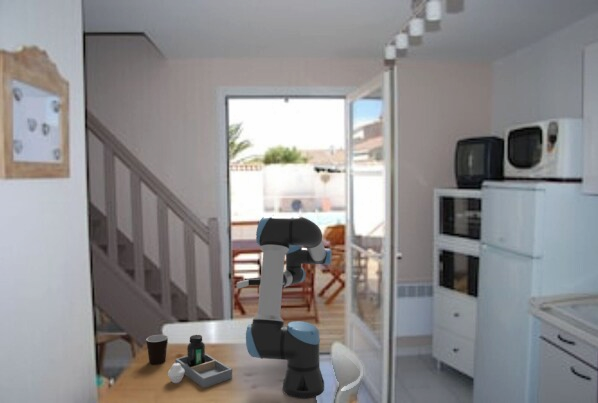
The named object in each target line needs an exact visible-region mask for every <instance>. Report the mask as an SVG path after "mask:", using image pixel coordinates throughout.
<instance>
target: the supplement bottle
mask: <svg viewBox="0 0 598 403" xmlns="http://www.w3.org/2000/svg"><path fill="white" fill-rule="evenodd" d="M205 347H206V346H205V343H204V342H203V336H202V335H201V334H194V335H191V336H189V343H188V344H187V354H186V356H187V359H188V366H189V367H193V366H196V365H200V364H203V363H205V353H206V350H205V349H206V348H205Z"/></svg>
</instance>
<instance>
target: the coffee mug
mask: <svg viewBox="0 0 598 403" xmlns="http://www.w3.org/2000/svg"><path fill="white" fill-rule="evenodd" d="M168 339H169V337H168V335H167V334H153V335H150V336H148V337H147V338H146V339H145V340H146V348H147V355H148V361H149V364H150V365H152V366H158V365H162V364H164V363H165V362H166V360H167V349H168V343H169V342H168V341H169V340H168Z"/></svg>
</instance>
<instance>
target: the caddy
mask: <svg viewBox="0 0 598 403" xmlns="http://www.w3.org/2000/svg"><path fill="white" fill-rule="evenodd" d="M174 363H180V364H181V367H182V368H183V369H184V370H185V373H184V376H186V377H187V378H189V379H190V380H192V381H194V382H195V383H196V384H197V385H199V386H200V387H202V388H203V389H205V388H208V387H210V386H214V385H217V384H219V383H222V382H225V381H228V380H231V379H233V368H231V367H229V366H228V365H226V364H225V363H222V362H221V361H219V360H217V359H216V358H214V357H213V356H211V355H210V354H208V353H206V352H205V363H203V364H200V365H196V366H193V367H189V366H188V359H187V355H184V356H182V357H178V358H175V362H174Z"/></svg>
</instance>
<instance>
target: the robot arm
mask: <svg viewBox="0 0 598 403" xmlns="http://www.w3.org/2000/svg"><path fill="white" fill-rule="evenodd" d="M255 232H256V234H255V235H256V237H255V240H256V243H257V245H258V246H259V250H260V251H261V252H262V261H261V262H262V264H261V272H260V273H261V274H260V276H259V277H250V278H244V279H243V280H241V281H237V282H236V289H237V290H238V289H239V290H240V289H241V288H246V287H247V288H248V287H249V286H258V285H259V286H258V293H259V295H258V305H257V314H256V316H254V317H253V319H252V323H250V324H248V325H247V326H246V332H245V343H246V344H245V345H246V349H247V352H248V355H249V356H251V357H252V358H256V359H257V358H258V359H267V360H285V361H287V367H286V370H285V375H284V378H283V380H282V391H283V392H284V394H286V395H288V397H292V398H296V399H310V398H315V397H316V398H317V397H318V396H320V395H322V393H324V391H325V380H324V378H323V374H322V371H321V368H320V367H321V366H320V343H321V339H320V330H319V329H318V328H319V327H317V326H316V325H314V324H312V323H310V322H306V321H302V320H301V321H299V320H296V321H290V322H288V324H287V325H284V324H285V321H284V319H283V318H282V317H281V309H282V308H281V307H282V297H283V296H282V295H283V288H286V287H289V286H291V285H295V284H296V285H297V284H300V283H302V282H304V281H305V279H306V277H307V275H306V274H307V273H306V271H305V268H303V267H302V265H306V264H307V265H323V266H324V265H331V264H332V258H333V257H332V255H333V254H332V253H333V252H332V249H331V248H325V245H324V242H323V232H322V230H321V228H320V226H318V225H317V224H316V223H315V222H313V221H312V220H310V219H308V218H306V217H303V216H300V215H299V216H291V215H290V216H289V215H288V216H287V215H267V216H266V215H265V216H263V217H261V219H259V222H258V224H257V227H256V231H255ZM302 246H303V247H302ZM285 262H286V263H285Z"/></svg>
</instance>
